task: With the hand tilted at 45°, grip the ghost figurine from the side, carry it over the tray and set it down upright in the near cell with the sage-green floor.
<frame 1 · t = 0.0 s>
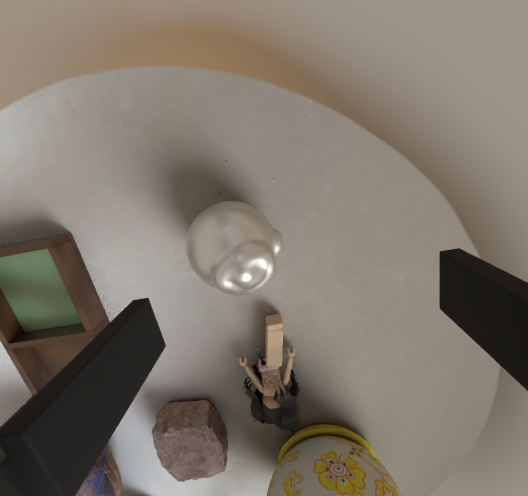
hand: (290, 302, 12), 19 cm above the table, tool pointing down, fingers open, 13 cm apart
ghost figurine: (241, 235, 31), on the table
stone: (198, 425, 41), on the table
toy figure: (270, 361, 37), on the table
bowl: (87, 450, 44), on the table
tray: (66, 326, 36), on the table
flowerpot: (324, 452, 41), on the table
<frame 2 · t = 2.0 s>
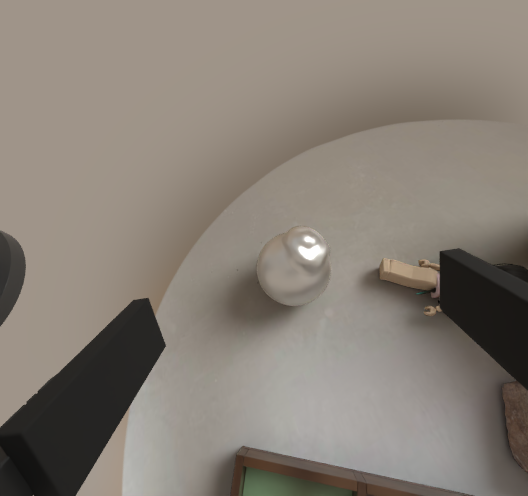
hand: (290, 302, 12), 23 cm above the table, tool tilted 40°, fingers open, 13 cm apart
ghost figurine: (296, 277, 37), on the table
toy figure: (441, 292, 34), on the table
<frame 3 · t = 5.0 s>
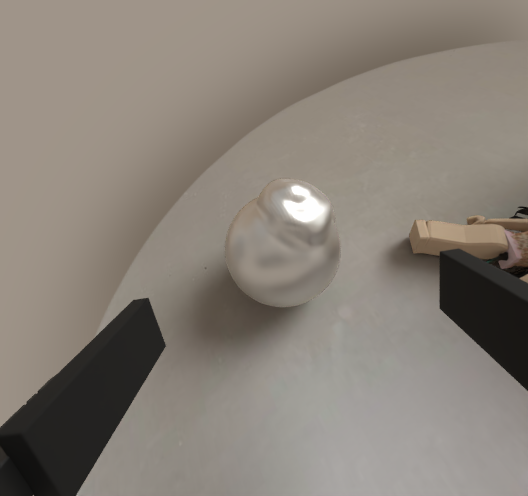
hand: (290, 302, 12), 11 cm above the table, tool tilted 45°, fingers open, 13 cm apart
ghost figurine: (290, 268, 25), on the table
toy figure: (510, 260, 22), on the table
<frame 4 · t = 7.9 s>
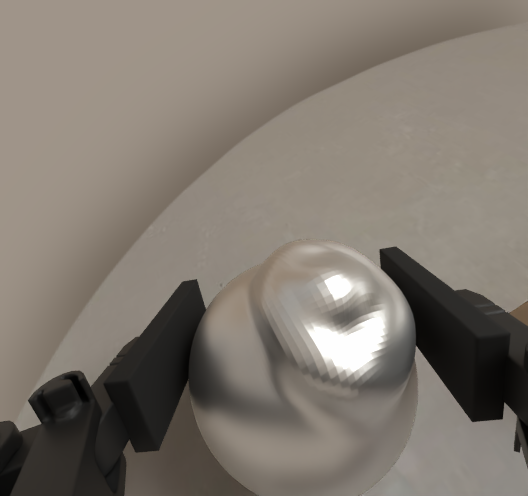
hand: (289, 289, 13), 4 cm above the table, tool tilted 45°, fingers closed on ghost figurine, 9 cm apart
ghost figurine: (307, 362, 15), on the table, touching gripper
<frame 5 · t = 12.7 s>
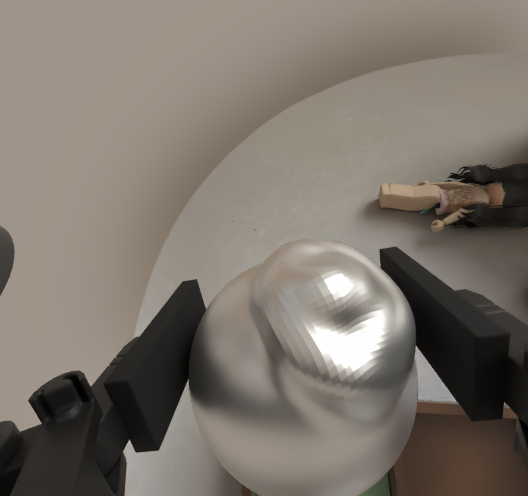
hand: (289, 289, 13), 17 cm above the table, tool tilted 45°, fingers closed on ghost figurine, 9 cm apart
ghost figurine: (307, 362, 15), point 13 cm above the table, touching gripper
toy figure: (446, 211, 32), on the table
tray: (393, 483, 22), on the table
when the fingers open (5 cm above the table, at t = 17.6 s): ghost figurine stays where it is, resting on tray.
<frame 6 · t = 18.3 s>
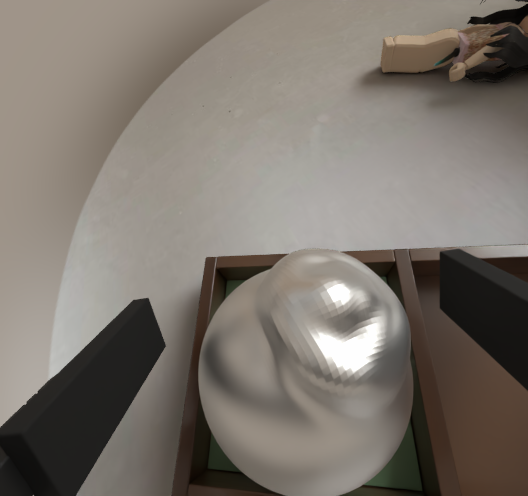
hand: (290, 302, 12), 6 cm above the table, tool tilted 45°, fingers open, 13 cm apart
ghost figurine: (308, 364, 16), point 1 cm above the table, touching tray
toy figure: (465, 71, 26), on the table
tray: (406, 368, 16), on the table
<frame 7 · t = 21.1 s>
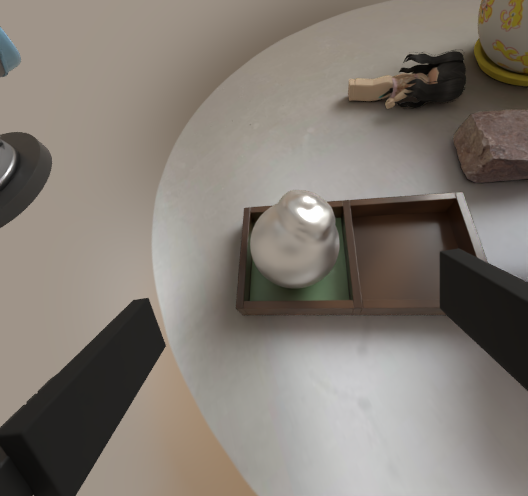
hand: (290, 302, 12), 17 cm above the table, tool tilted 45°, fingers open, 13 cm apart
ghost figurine: (299, 260, 31), point 1 cm above the table, touching tray
stone: (506, 158, 33), on the table
toy figure: (400, 100, 41), on the table
tray: (348, 260, 31), on the table
flowerpot: (525, 61, 40), on the table
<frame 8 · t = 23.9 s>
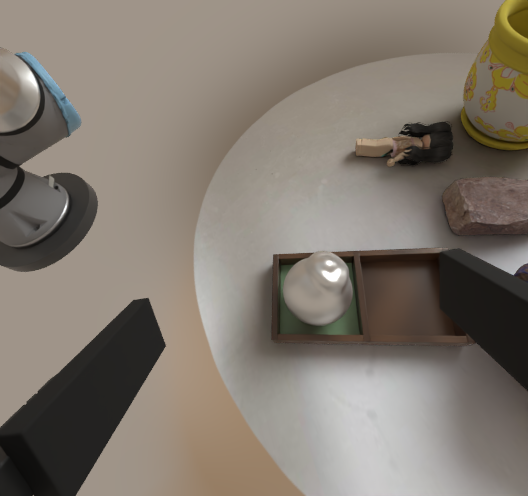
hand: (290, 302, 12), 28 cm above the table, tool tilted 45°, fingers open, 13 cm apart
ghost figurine: (318, 298, 39), point 1 cm above the table, touching tray
stone: (484, 214, 41), on the table
toy figure: (399, 157, 49), on the table
tray: (358, 299, 39), on the table
flowerpot: (503, 125, 48), on the table
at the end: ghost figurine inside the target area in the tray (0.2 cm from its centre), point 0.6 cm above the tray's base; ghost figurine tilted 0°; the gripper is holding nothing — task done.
